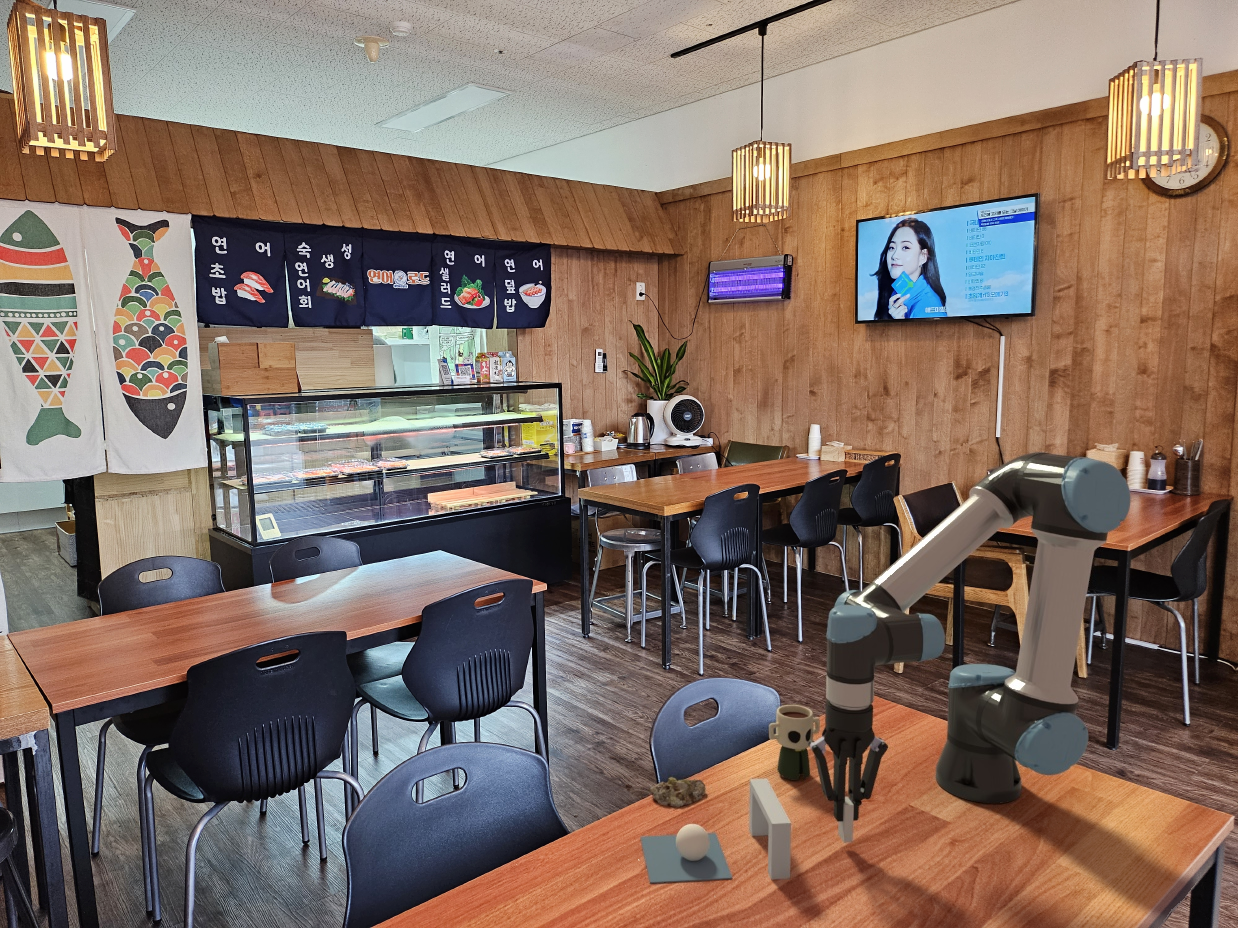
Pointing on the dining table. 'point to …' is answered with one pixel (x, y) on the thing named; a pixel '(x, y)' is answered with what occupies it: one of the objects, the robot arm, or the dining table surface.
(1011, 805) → the dining table surface
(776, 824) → the bridge
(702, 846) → the ball
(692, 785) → the mineral rock
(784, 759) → the character mug
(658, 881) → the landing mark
